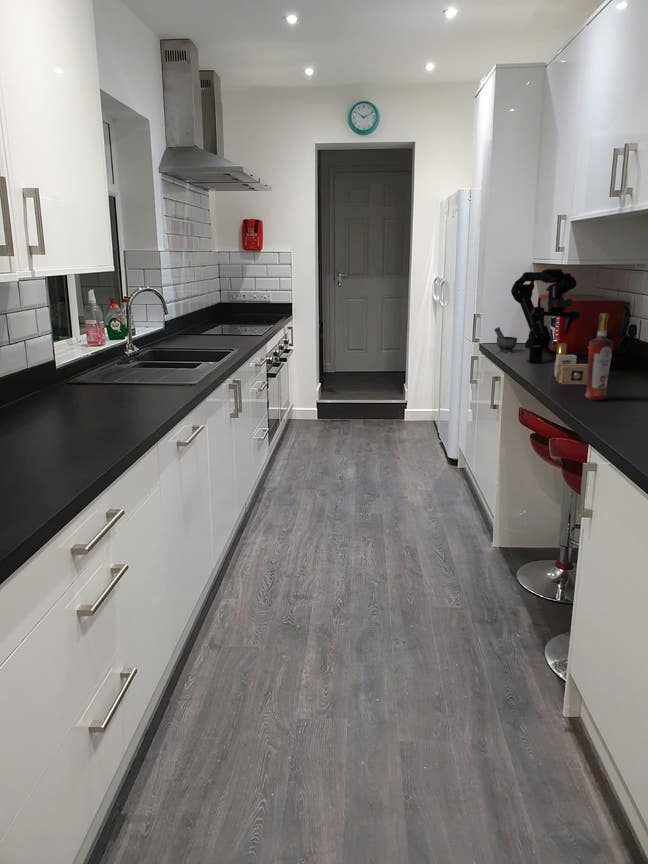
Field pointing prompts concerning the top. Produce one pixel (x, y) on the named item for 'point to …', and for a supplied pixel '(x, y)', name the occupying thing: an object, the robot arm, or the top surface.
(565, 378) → the bearing block
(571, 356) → the spacer
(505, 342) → the mortar and pestle
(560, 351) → the shaft
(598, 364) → the liquor
